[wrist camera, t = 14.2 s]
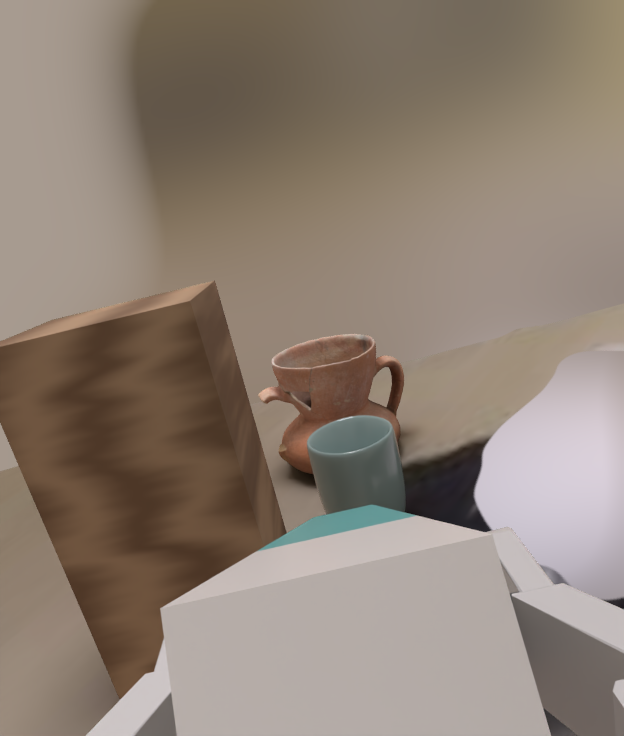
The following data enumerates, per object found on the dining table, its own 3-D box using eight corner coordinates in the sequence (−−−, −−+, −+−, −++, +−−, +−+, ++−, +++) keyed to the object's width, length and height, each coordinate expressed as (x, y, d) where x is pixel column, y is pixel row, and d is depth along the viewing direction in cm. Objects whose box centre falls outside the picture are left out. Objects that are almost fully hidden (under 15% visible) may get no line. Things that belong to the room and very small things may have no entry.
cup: (370, 568, 44) (345, 462, 41) (314, 536, 50) (289, 442, 47) (430, 521, 48) (411, 423, 45) (371, 497, 54) (351, 409, 51)
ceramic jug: (292, 507, 56) (262, 384, 52) (268, 455, 69) (242, 355, 65) (443, 457, 59) (425, 338, 55) (391, 417, 73) (374, 320, 69)
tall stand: (300, 580, 44) (214, 280, 37) (304, 681, 34) (190, 300, 27) (163, 612, 44) (52, 319, 37) (129, 721, 35) (-30, 353, 27)
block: (386, 566, 25) (371, 504, 26) (614, 954, 4) (491, 533, 5) (326, 580, 25) (313, 517, 26) (215, 1039, 4) (160, 607, 5)
